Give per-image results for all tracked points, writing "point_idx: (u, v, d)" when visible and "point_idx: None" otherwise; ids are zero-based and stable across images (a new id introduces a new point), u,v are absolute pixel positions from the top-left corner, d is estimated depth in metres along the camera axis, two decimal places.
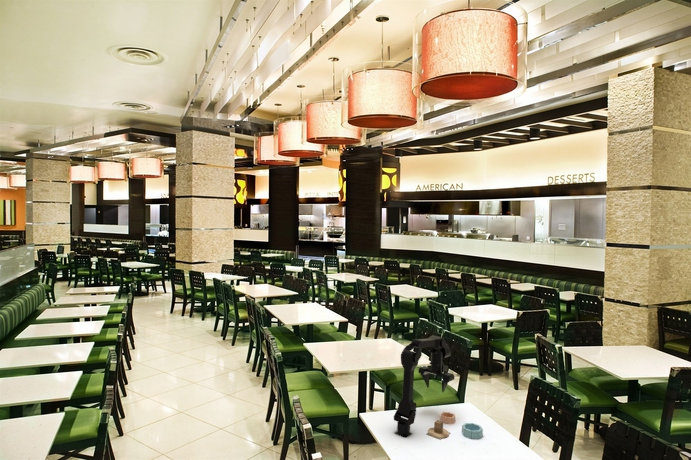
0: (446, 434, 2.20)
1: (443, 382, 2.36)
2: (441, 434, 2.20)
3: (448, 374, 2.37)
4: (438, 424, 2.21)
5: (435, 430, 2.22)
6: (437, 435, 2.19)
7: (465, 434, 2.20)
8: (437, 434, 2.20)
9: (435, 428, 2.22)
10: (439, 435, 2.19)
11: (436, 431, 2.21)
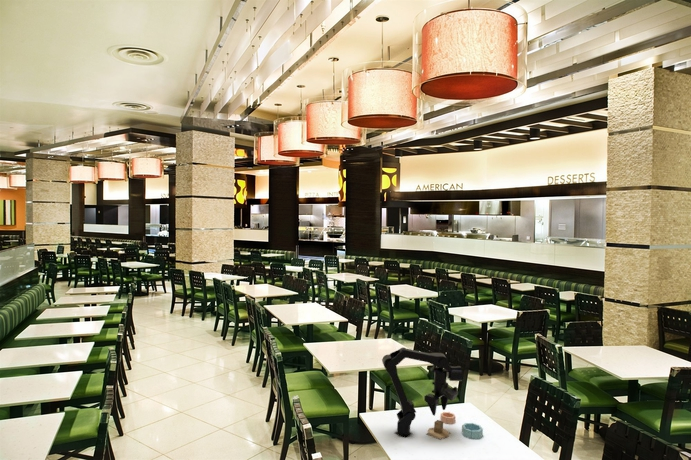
0: (446, 434, 2.20)
1: None
2: (441, 434, 2.20)
3: (430, 395, 2.17)
4: (438, 424, 2.21)
5: (435, 430, 2.22)
6: (437, 435, 2.19)
7: (465, 434, 2.20)
8: (437, 434, 2.20)
9: (435, 428, 2.22)
10: (439, 435, 2.19)
11: (436, 431, 2.21)
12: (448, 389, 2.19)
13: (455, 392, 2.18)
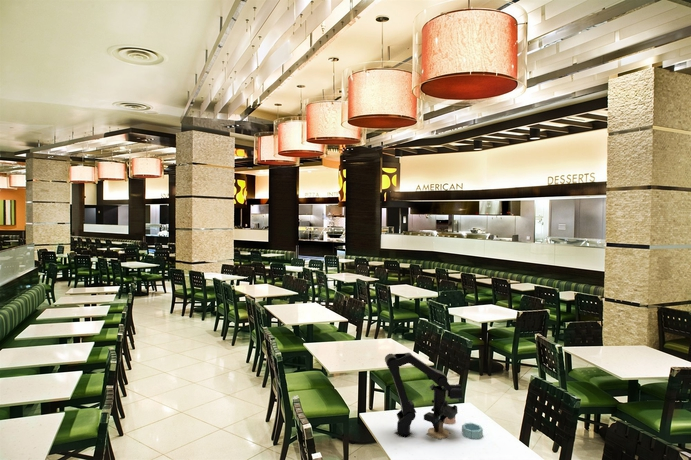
0: (446, 434, 2.20)
1: None
2: (441, 434, 2.20)
3: (430, 414, 2.17)
4: None
5: None
6: (437, 435, 2.19)
7: (465, 434, 2.20)
8: (437, 434, 2.20)
9: None
10: (439, 435, 2.19)
11: None
12: (447, 407, 2.19)
13: (454, 411, 2.18)
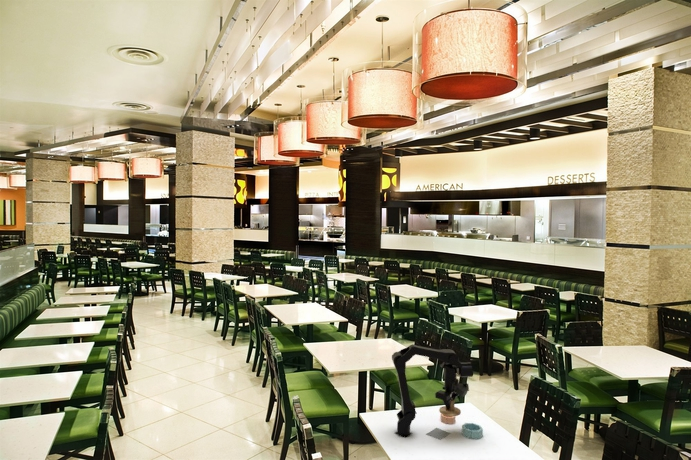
0: (458, 412, 2.20)
1: None
2: (453, 412, 2.20)
3: (441, 392, 2.17)
4: None
5: None
6: (449, 413, 2.19)
7: (465, 434, 2.20)
8: (449, 412, 2.20)
9: None
10: (451, 413, 2.19)
11: None
12: (459, 385, 2.19)
13: (466, 388, 2.18)
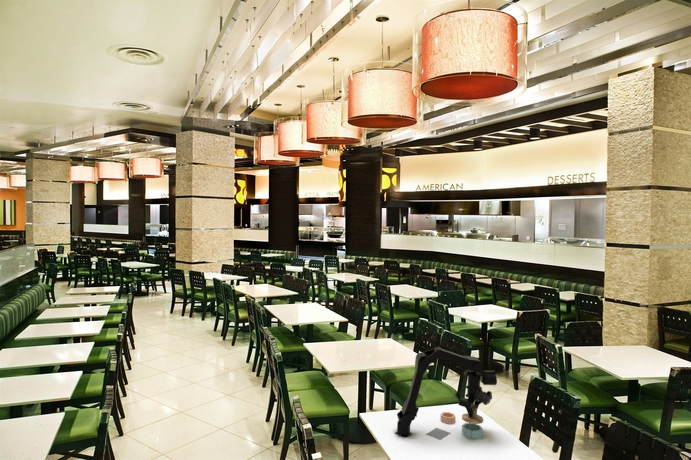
0: (480, 420, 2.20)
1: None
2: (475, 419, 2.20)
3: (464, 399, 2.17)
4: None
5: None
6: (472, 420, 2.19)
7: (465, 434, 2.20)
8: (471, 419, 2.20)
9: None
10: (474, 420, 2.19)
11: None
12: (482, 393, 2.19)
13: (489, 396, 2.18)
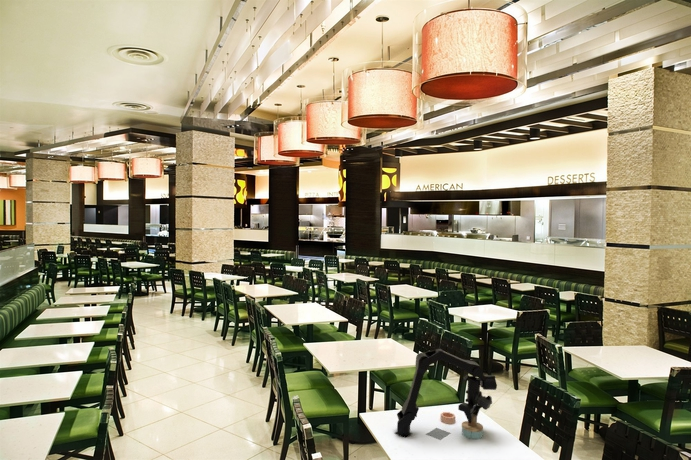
0: (480, 427, 2.20)
1: None
2: (475, 427, 2.20)
3: (464, 404, 2.17)
4: (472, 417, 2.21)
5: (469, 423, 2.22)
6: (471, 428, 2.19)
7: (465, 434, 2.20)
8: (471, 427, 2.20)
9: None
10: (473, 428, 2.19)
11: (470, 424, 2.22)
12: (482, 398, 2.19)
13: (489, 401, 2.18)
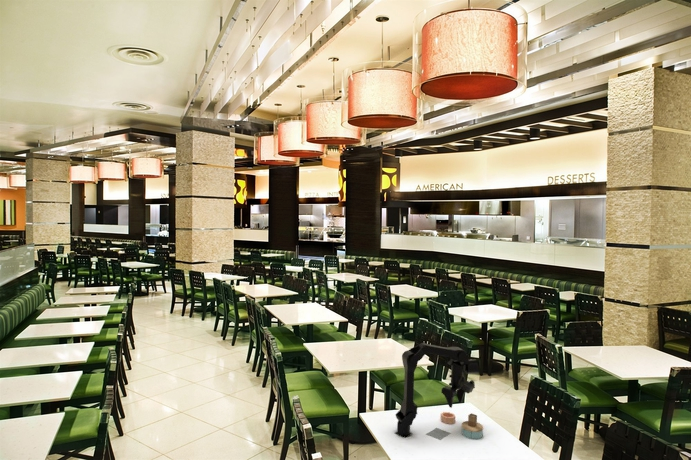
0: (480, 427, 2.20)
1: None
2: (475, 427, 2.20)
3: (447, 387, 2.22)
4: (472, 417, 2.21)
5: (469, 423, 2.22)
6: (471, 428, 2.19)
7: (465, 434, 2.20)
8: (471, 427, 2.20)
9: (468, 421, 2.22)
10: (473, 428, 2.19)
11: (470, 424, 2.22)
12: (465, 382, 2.24)
13: (472, 385, 2.23)
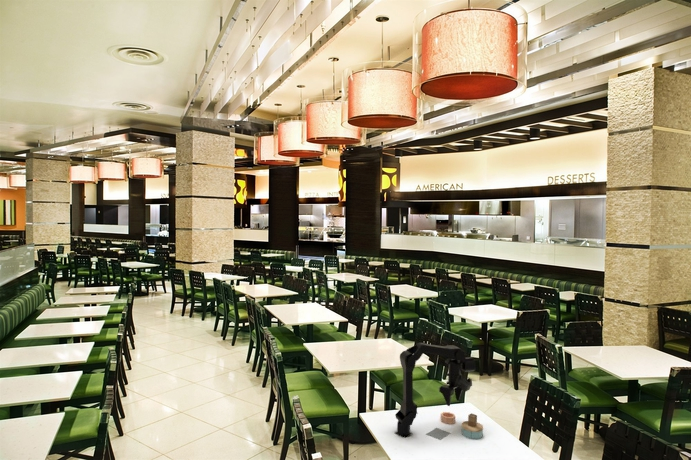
0: (480, 427, 2.20)
1: None
2: (475, 427, 2.20)
3: (445, 386, 2.23)
4: (472, 417, 2.21)
5: (469, 423, 2.22)
6: (471, 428, 2.19)
7: (465, 434, 2.20)
8: (471, 427, 2.20)
9: (468, 421, 2.22)
10: (473, 428, 2.19)
11: (470, 424, 2.22)
12: (462, 380, 2.25)
13: (469, 383, 2.24)
